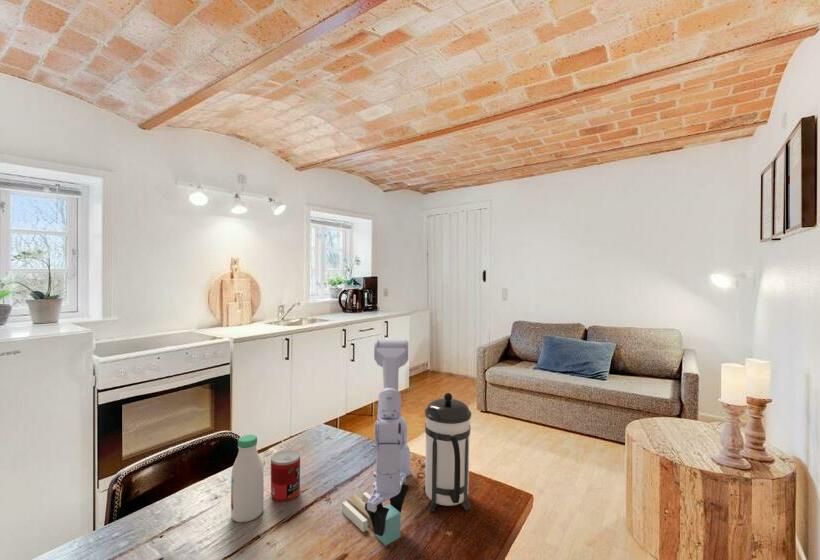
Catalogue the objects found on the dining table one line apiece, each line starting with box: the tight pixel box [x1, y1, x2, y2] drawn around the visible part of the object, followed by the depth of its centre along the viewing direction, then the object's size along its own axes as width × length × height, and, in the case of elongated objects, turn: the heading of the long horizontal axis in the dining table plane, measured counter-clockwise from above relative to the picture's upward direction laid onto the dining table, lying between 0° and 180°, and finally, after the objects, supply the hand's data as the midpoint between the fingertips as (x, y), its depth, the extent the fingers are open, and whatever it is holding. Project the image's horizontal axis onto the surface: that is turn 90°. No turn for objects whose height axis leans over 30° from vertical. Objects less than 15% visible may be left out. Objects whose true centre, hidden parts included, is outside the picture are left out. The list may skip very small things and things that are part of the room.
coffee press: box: [423, 392, 472, 513], centre depth 105 cm, size 17×16×30 cm
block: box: [374, 503, 402, 546], centre depth 92 cm, size 4×4×6 cm
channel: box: [341, 491, 385, 533], centre depth 99 cm, size 8×10×2 cm
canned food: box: [270, 449, 301, 503], centre depth 108 cm, size 8×8×11 cm
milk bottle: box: [230, 434, 265, 523], centre depth 99 cm, size 8×8×20 cm
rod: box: [345, 494, 374, 531], centre depth 99 cm, size 3×14×3 cm, turn 42°
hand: (387, 524), depth 92 cm, fingers open, 7 cm apart
